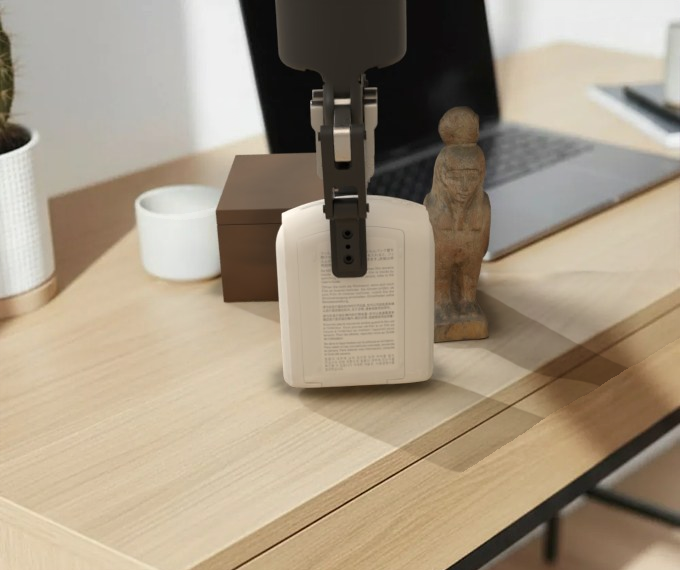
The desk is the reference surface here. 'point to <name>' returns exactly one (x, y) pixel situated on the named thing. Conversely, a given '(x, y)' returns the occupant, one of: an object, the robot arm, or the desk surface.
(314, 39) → the robot arm
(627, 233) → the desk surface
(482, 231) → the worn brown figurine
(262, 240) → the lidded wooden box
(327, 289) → the photo printer
